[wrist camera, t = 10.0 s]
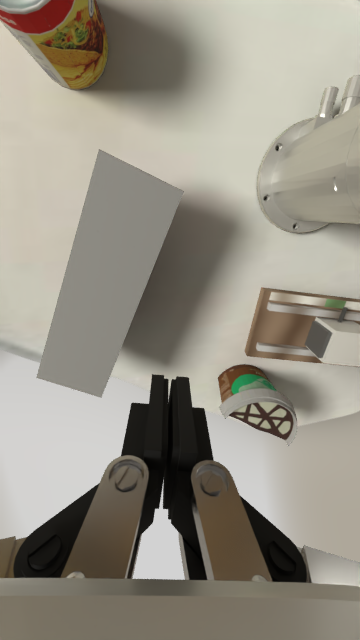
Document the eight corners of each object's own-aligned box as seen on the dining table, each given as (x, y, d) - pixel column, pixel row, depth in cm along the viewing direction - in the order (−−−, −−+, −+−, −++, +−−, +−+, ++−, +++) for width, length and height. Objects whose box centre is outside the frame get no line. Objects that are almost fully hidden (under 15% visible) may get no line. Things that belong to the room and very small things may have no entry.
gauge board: (244, 351, 42) (257, 374, 36) (261, 287, 38) (278, 301, 32) (378, 364, 44) (410, 388, 38) (408, 305, 40) (449, 321, 34)
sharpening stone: (121, 169, 31) (99, 149, 21) (179, 197, 33) (183, 191, 23) (69, 336, 40) (36, 377, 30) (117, 352, 41) (101, 397, 31)
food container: (288, 376, 45) (319, 418, 35) (267, 400, 47) (291, 447, 37) (230, 346, 42) (248, 384, 33) (210, 374, 44) (221, 417, 35)
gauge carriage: (301, 345, 40) (319, 362, 35) (317, 301, 37) (338, 314, 33) (341, 349, 41) (363, 367, 36) (359, 306, 38) (385, 320, 33)
